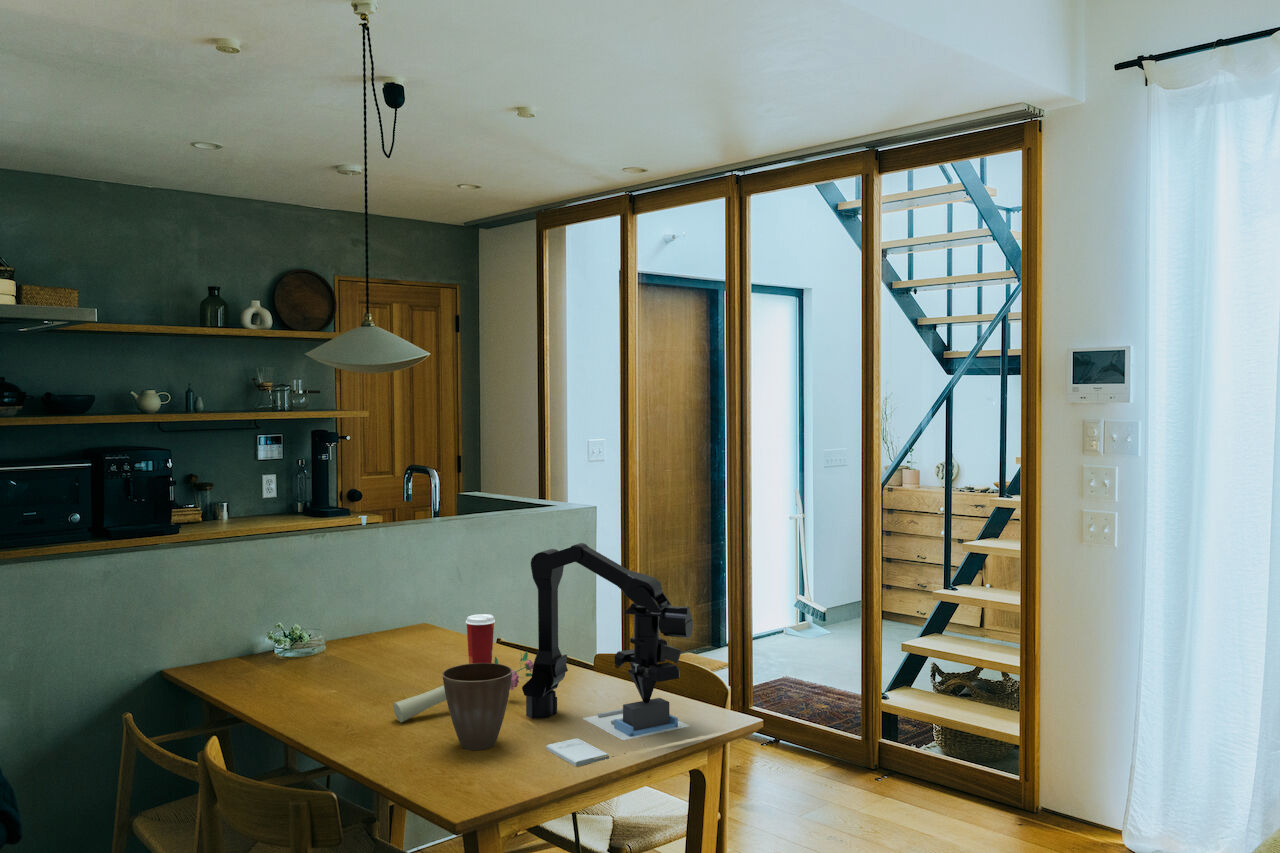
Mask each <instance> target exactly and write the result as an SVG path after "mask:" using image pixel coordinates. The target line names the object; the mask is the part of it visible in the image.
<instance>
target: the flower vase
mask: <svg viewBox="0 0 1280 853" xmlns="http://www.w3.org/2000/svg"><path fill="white" fill-rule="evenodd" d="M494 656H495V655H494ZM519 662H520V663H519V665H520V666H519V669H517V670H515V669H512V676H511V684H510V691H514V689H515V688H517V687H518V686H519V684H518V683H519V682H520V680H519V678H521V679H522V680H523V681H526V682H527V680H525V679H524V678H525V677H527V678H528V677H532V670H533V664H534V661H532V660H531V659H529V653H528V651H525V652H524V653H523V656H522V653H521V652H520V661H519ZM523 662H525V664H524V667H522V663H523ZM494 664H500V663H499V660H498V658H497V656H495V657H494ZM521 667H522V668H521ZM524 669H525V670H526V671H529V672H526V673H525V675H524V676H523V678H522V676H519V674H518V672H519V671H523V670H524ZM445 701H447V699H446V694H445V689H444V684H443V685H441V686H439V687H437V688H433V689H431V690H429V691H426V692H423V693H421V694H418V695H417V694H416V695H414V696H410V697H408V698H405V699H402V700H398V701H395V702H394V703H393V706H392V707H393V712H394V715H395V717H396V719H397V720H398V722H399V721H400V722H399V723H401V722H402V723H404V722H406V721H408V720H410V719H411V718H413V717H415V716H417V715H419V714H421V713H422V712H425V711H426V710H428V709H430V708H431V707H434V706H436V705H439V704H441V703H443V702H445Z"/></svg>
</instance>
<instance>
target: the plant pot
mask: <svg viewBox="0 0 1280 853" xmlns="http://www.w3.org/2000/svg"><path fill="white" fill-rule="evenodd" d="M512 670H513V669H512V668H511V667H509V666H508V665H505V664H502V663H499V664H495V662H494V663H493V662H492V663H472V664H469V663H465V664H459V665H455V666H452V667H449V668H447V669H445V670H444V671H443V672H442V682H443V685H444V689H445V694H446V699H447V700H446V702H447V707H448V710H449V716H450V718H451V722H452V725H453V728H454V731H455V733H456V737H457V739H458V741H459V744H460V747H461V748H463V749H464V750H468V751H482V750H486V749H490V748H493V747H494V746H495V745H496V744H497V740H498V736H499V735H500V732H501V731H500V730H502V729H501V728H502V726H503V721H504V717H505V715H506V714H505V713H506V712H507V711H506V710H507V706H508V701H509V696H510V691H511V689H510V684H511V676H512Z"/></svg>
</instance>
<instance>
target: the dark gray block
mask: <svg viewBox="0 0 1280 853" xmlns="http://www.w3.org/2000/svg"><path fill="white" fill-rule="evenodd" d="M622 709H623V722H624V723H626V724H628V725H630V726H632V727H633V731H636V730H641V729H646V728H651V727H656V726H660V725H665V724H669V714H670V701H668V700H665V699H663V698H661V697H656V698H650V701H649V703H644V702H643V700H641V701H639V700H638V701H636V702H634V701H633V702H629V703H624V704H622Z"/></svg>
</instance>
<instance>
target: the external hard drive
mask: <svg viewBox="0 0 1280 853" xmlns="http://www.w3.org/2000/svg"><path fill="white" fill-rule="evenodd" d="M545 749H546V750H547V751H548V752H550V753H551V754H554V755H555V756H557V757H559V758H560V759H562V760H564V761H566V762H567V763H569V764H570V763H571V764H570V765H572V764H573V765H572V766H574V767H575V766H577V767H580V766H579V765H581V766H584V765H589V764H593V762H594V763H597V762H601V761H605V759H606V760H609V759H610V754H609V753H608V752H605V751H604V750H602V749H599V748H597V747H595V746H593V745H592V744H590V743H588V742H585V741H584V740H582V739H580V738H579V737H578V738H572V739H567V740H563V741H558V742H554V743H549V744H547V745H546V746H545Z"/></svg>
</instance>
